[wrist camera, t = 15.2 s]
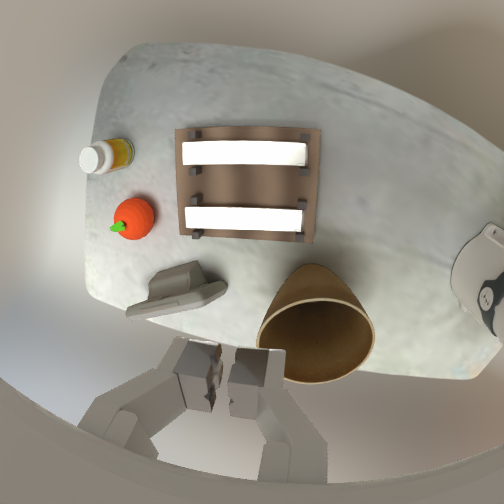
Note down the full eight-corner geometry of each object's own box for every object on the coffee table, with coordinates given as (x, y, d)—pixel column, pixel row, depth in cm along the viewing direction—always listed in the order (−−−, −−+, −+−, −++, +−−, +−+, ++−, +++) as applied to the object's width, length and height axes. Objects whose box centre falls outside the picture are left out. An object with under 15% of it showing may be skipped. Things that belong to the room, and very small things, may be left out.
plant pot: (251, 288, 49) (233, 351, 34) (307, 225, 43) (312, 273, 28) (314, 331, 51) (316, 397, 36) (371, 278, 45) (397, 339, 30)
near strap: (308, 143, 34) (308, 143, 33) (307, 165, 35) (307, 166, 34) (184, 142, 35) (182, 142, 34) (184, 164, 36) (183, 164, 35)
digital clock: (156, 304, 54) (132, 336, 44) (142, 264, 50) (113, 292, 41) (232, 302, 51) (218, 340, 41) (223, 257, 47) (204, 290, 37)
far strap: (304, 209, 37) (305, 210, 37) (302, 229, 39) (303, 231, 38) (186, 206, 38) (184, 207, 38) (187, 226, 40) (186, 227, 39)
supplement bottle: (119, 173, 44) (85, 185, 35) (106, 149, 42) (70, 156, 33) (140, 157, 42) (106, 164, 33) (126, 132, 40) (91, 134, 32)
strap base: (318, 130, 37) (322, 129, 31) (311, 233, 43) (313, 250, 37) (185, 129, 39) (167, 129, 33) (188, 226, 46) (173, 241, 40)
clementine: (131, 237, 48) (111, 252, 42) (118, 202, 46) (95, 213, 39) (166, 226, 46) (147, 241, 40) (152, 188, 44) (130, 198, 37)
